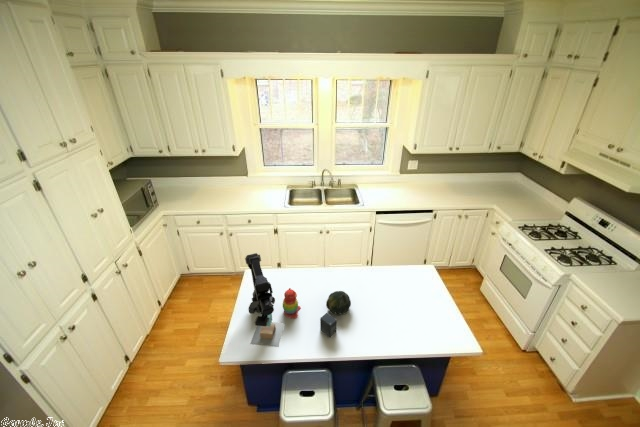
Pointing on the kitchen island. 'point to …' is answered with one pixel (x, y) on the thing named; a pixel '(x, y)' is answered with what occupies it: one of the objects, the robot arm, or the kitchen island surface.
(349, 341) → the kitchen island surface
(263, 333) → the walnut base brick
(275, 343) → the baseplate
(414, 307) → the kitchen island surface
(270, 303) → the robot arm
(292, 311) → the stacking bear
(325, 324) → the box
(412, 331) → the kitchen island surface
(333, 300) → the squash
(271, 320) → the teal brick
